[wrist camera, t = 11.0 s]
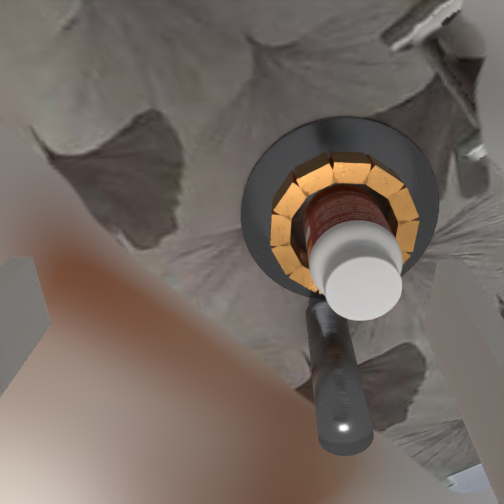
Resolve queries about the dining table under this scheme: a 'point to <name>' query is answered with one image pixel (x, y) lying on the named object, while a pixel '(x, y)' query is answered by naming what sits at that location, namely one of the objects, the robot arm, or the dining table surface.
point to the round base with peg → (295, 252)
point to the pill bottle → (352, 252)
